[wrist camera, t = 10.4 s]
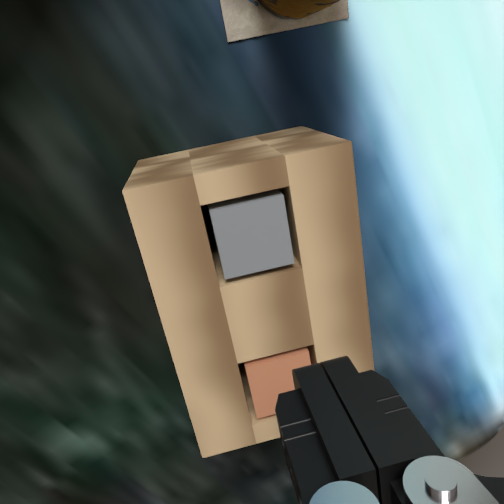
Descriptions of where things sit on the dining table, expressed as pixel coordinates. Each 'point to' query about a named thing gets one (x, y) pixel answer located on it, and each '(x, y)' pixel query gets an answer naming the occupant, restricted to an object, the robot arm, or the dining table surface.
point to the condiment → (277, 15)
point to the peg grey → (251, 233)
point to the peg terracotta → (273, 378)
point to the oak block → (255, 284)
